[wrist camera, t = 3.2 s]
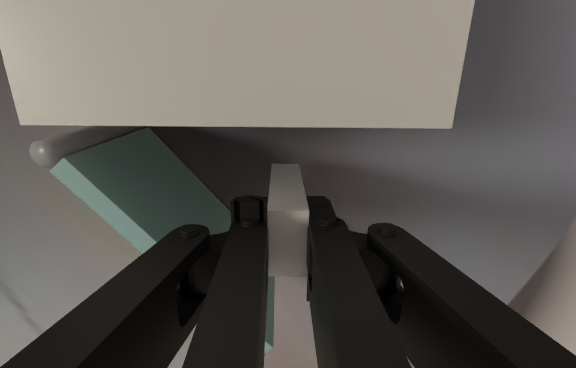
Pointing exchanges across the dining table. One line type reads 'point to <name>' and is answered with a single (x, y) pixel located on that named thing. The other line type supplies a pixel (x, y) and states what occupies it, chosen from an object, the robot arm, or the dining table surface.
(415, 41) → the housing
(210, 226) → the side door
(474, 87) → the dining table surface
